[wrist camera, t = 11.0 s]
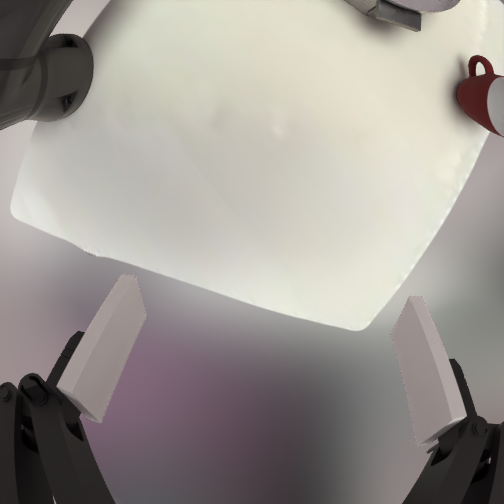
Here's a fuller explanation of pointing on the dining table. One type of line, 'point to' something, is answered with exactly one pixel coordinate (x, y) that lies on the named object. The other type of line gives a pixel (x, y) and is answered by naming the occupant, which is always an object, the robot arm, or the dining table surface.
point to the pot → (389, 13)
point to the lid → (426, 5)
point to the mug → (483, 96)
